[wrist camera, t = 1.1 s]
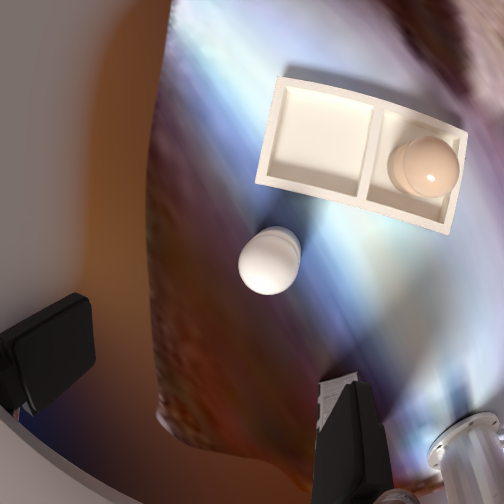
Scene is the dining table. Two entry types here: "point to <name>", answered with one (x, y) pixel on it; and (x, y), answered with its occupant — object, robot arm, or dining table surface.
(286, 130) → the caddy
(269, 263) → the white egg
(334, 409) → the robot arm
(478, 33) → the dining table surface
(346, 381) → the candy bar box
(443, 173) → the brown egg
